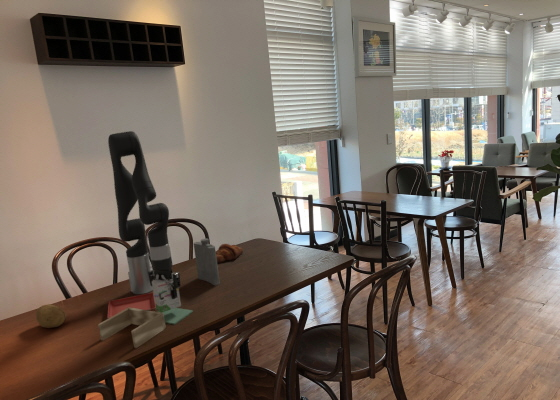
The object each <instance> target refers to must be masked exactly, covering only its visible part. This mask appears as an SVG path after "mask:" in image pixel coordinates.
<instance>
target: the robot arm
mask: <svg viewBox="0 0 560 400" xmlns="http://www.w3.org/2000/svg"><path fill="white" fill-rule="evenodd" d="M107 139H108V140H107V141H108V143H107V144H108V149H109V150H108V151H109V155H110V160H111V161H110V162H111V165H112V173H113V174H112V175H113V182H114V195H115V200H116V201H115V202H116V206H117V221H118V222H117V224H118V234H119V239H120V240H121V241H122V242H123V243H125V242H126V243H127V242H132V241H136V242H135V243H134V244H133V245H132V246H130V247H128V248H127V249H126V251H125V253H126V259H127V260H126V261H127V267H128V273H127V275H128V280H129V286H130V292H131V293H133V294H134V295H143V294H148V293H151V292H153V287H152V281H153V280H163V281H165V283H166V284H167V285H168V286H169V287H170V289H171V290H170V291H171V297H172V299H175V298H177V288H178V289H179V288H180V287H181V273H180V272H179V271H177V272H174V271H173V259H172V252H171V246H170V244H169V236H168V226H169V219H170V211H169V208H168V206H167V205H166V204H165V203H163V202H159V203H154V204H149V203H150V202H152V201H153V200H155V199H156V198H157V192H156V190H155V187H154V185H153V182H152V180H151V178H150V175H149V172H148V167H147V163H146V161H145V159H146V158H145V156H144V152H143V149H142V145H141V141H140V139H139V136H138V134H137V133H136V132H135V131H134V130H133V131H132V130H130V131H122V132H117V133H112V134H111V133H110V135H109V136H108V138H107ZM130 156H134V159H135V160H134V161H135V163H134V168H133V171H132V173H131V172H130V171H129V170H128V169H127V168H126V167H125V165H124V164H123V162H122V158H123V157H124V158H125V157H130ZM137 203H138V216H139V217H138V218H133V219H128V218H129V215H130V214H131V211H132V210H133V208H134V207H135V205H136V204H137ZM154 224H157V225H156V226H155V228H152V229H151V230H149V231H148V232H147V235H146V228H145V227H146V226H149V225H154ZM146 236H147V237H146ZM147 239H148V240H147ZM147 241H148V244H147ZM148 246H149V250H148ZM151 268H152V269H151ZM171 279H173V281H171V282H169V280H171ZM171 283H172V284H173V286H172V284H171Z"/></svg>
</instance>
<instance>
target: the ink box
mask: <svg viewBox="0 0 560 400" xmlns="http://www.w3.org/2000/svg"><path fill="white" fill-rule="evenodd" d="M171 281H173V279H171V280H169V282H171ZM171 284H172V283H171ZM172 286H173V284H172ZM152 287H153V290H152V293H154V299H155V305H156V309H155V310H157V312H158V311H159V312H161V313H162V312H165V311H168V310H171V309H174V308H179V307H182V303H181V296H180V289H179V288H177V298H175V299H172V297H171V291H170V290H171V289H170V287H169V286H168V285H167V284H166V283H165V281H163V280H153V281H152Z"/></svg>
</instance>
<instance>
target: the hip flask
mask: <svg viewBox="0 0 560 400" xmlns="http://www.w3.org/2000/svg"><path fill="white" fill-rule="evenodd" d="M209 242H210V240H209V238H202V239H200V241H195V242H193V250H194V256H195V257H194V258H195V264H196V270H197V278H198V279H199V280H202V281H205V282H207V283H210V284H211V285H212V286H219V285H221V284H220V276H219V268H218V263H217V258H216V252H217V250H216V246H214V245H213V244H210V243H209Z"/></svg>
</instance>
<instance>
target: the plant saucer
mask: <svg viewBox="0 0 560 400" xmlns="http://www.w3.org/2000/svg"><path fill="white" fill-rule="evenodd" d="M128 307H130V308H136V309H142V310H148V311H154V312H156V311H155V310H156V305H155V299H154V293H153V292H148V293H144V294H137V295H134V296H128V297H124V298H118V299H114V300H113V299H112V300H110V301H108V305H107V319H109V318H111V317H112V316H114V315H116V314H118V313H120V312H121V311H123V310H125V309H127V308H128Z"/></svg>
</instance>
